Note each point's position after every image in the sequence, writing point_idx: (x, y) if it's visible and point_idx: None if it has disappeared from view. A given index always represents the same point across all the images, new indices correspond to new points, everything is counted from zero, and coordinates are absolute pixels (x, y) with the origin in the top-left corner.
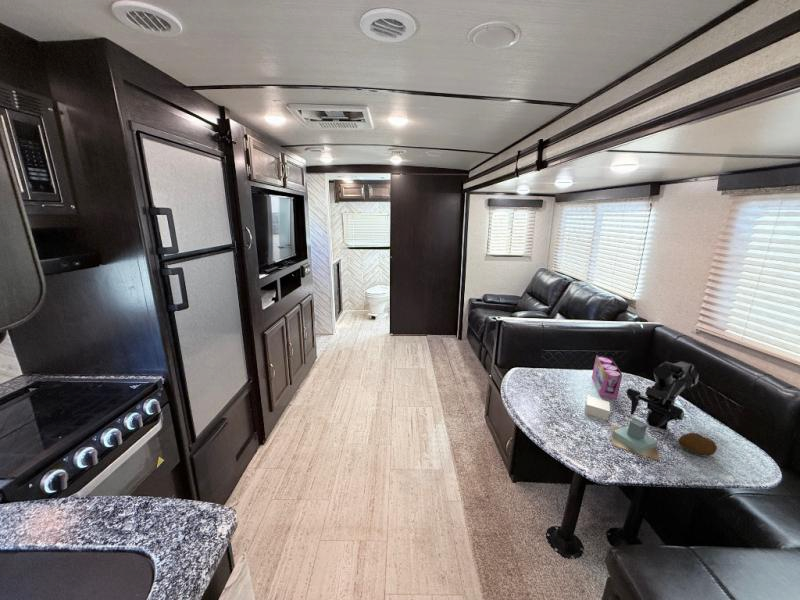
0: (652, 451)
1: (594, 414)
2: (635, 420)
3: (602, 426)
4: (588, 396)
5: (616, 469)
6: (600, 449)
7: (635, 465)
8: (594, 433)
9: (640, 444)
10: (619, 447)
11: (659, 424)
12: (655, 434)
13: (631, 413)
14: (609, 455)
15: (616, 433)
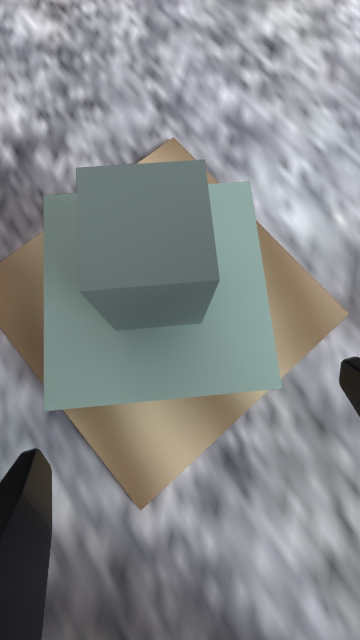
0: (42, 326)
1: None
2: (197, 232)
3: (344, 247)
4: None
5: (30, 16)
6: (164, 59)
7: (11, 122)
8: (288, 137)
9: (69, 226)
10: (143, 161)
11: (8, 475)
12: (182, 597)
13: (352, 359)
14: (113, 63)
15: (223, 188)
